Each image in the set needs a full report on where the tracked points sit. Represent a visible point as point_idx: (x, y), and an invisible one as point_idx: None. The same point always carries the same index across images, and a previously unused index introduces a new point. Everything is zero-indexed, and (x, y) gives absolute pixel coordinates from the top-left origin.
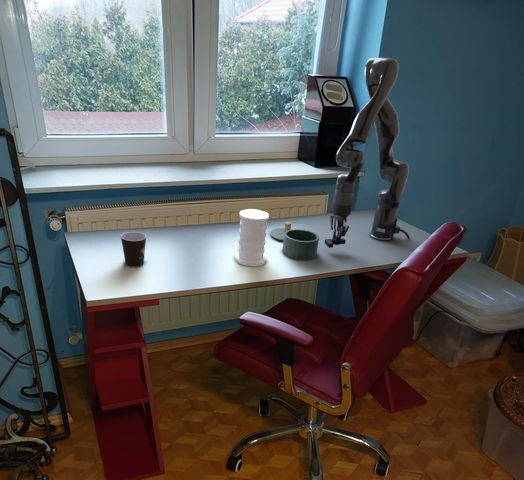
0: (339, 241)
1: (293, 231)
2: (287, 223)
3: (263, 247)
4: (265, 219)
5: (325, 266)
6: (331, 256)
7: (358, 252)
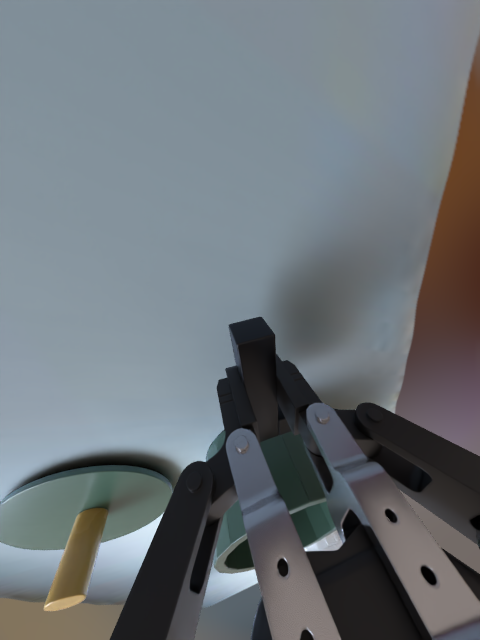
0: (301, 379)
1: (228, 557)
2: (82, 599)
3: (335, 535)
4: None
5: (368, 380)
6: (298, 358)
7: (252, 174)
